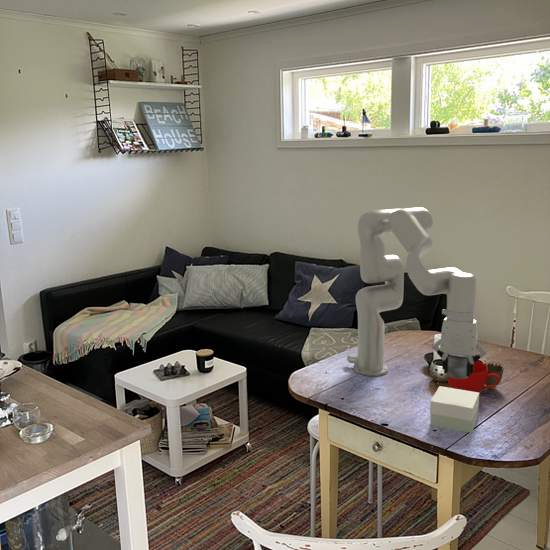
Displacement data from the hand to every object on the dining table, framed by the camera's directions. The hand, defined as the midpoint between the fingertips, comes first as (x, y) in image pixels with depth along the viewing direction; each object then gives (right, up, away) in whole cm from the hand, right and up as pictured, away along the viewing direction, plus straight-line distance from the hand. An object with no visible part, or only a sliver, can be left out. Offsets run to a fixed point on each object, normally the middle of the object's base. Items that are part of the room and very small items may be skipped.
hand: (457, 373), depth 178 cm
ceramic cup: (+11, -11, +20) cm, 25 cm away
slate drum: (0, -1, 0) cm, 1 cm away
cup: (+19, -10, +25) cm, 33 cm away
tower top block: (0, -11, +2) cm, 12 cm away
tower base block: (0, -15, +3) cm, 16 cm away
